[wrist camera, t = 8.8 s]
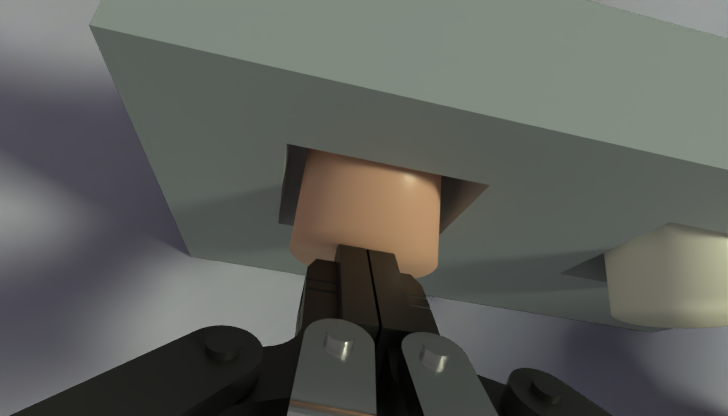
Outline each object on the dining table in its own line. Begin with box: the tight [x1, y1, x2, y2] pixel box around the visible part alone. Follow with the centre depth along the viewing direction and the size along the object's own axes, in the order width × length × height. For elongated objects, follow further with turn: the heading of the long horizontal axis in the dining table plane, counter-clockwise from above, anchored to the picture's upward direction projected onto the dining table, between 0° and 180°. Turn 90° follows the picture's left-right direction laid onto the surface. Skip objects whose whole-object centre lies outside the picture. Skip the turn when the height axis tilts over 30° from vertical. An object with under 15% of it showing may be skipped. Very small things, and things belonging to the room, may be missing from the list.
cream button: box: [604, 222, 728, 328], centre depth 15 cm, size 7×4×4 cm, turn 174°
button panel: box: [89, 0, 728, 332], centre depth 16 cm, size 4×22×13 cm, turn 84°
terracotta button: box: [290, 148, 442, 279], centre depth 14 cm, size 7×4×4 cm, turn 174°
